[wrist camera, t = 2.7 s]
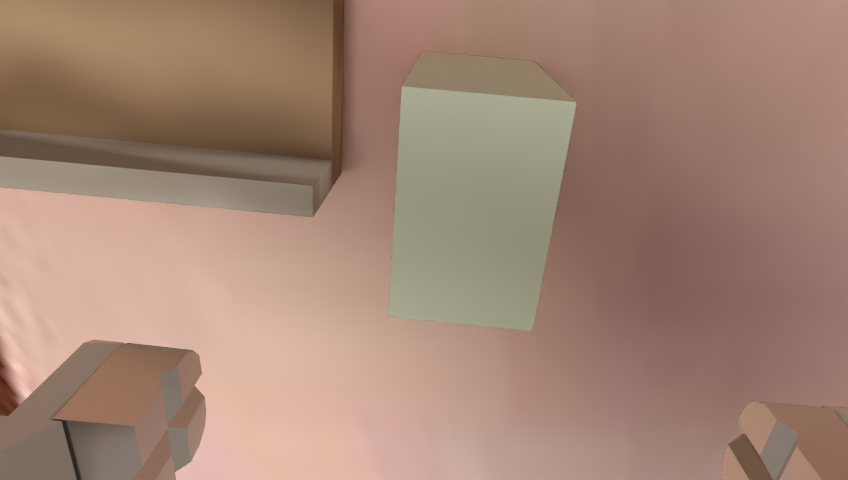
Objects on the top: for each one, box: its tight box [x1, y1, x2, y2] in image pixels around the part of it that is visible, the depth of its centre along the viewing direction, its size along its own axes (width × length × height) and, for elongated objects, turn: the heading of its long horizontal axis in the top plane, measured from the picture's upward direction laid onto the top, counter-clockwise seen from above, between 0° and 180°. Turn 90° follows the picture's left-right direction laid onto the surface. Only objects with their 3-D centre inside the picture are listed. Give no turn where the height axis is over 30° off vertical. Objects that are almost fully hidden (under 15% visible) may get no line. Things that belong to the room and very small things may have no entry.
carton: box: [388, 51, 577, 331], centre depth 20 cm, size 5×7×9 cm, turn 175°
